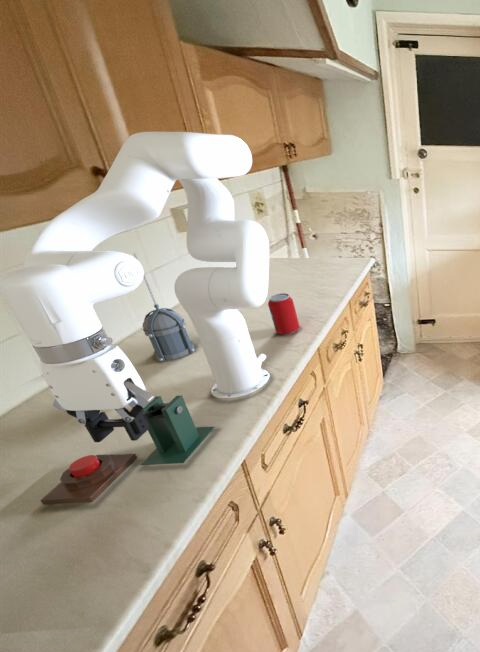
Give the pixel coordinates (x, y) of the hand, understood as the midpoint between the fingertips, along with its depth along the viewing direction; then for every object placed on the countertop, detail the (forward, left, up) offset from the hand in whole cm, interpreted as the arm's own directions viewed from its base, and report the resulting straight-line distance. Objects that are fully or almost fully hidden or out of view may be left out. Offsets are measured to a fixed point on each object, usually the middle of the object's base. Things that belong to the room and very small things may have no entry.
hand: (122, 434), depth 68 cm
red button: (-1, -10, -8) cm, 13 cm away
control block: (-1, -10, -12) cm, 16 cm away
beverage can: (-59, 0, -12) cm, 60 cm away
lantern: (-48, -27, -12) cm, 56 cm away
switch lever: (-4, 0, -1) cm, 4 cm away
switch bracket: (-9, 0, -12) cm, 15 cm away
